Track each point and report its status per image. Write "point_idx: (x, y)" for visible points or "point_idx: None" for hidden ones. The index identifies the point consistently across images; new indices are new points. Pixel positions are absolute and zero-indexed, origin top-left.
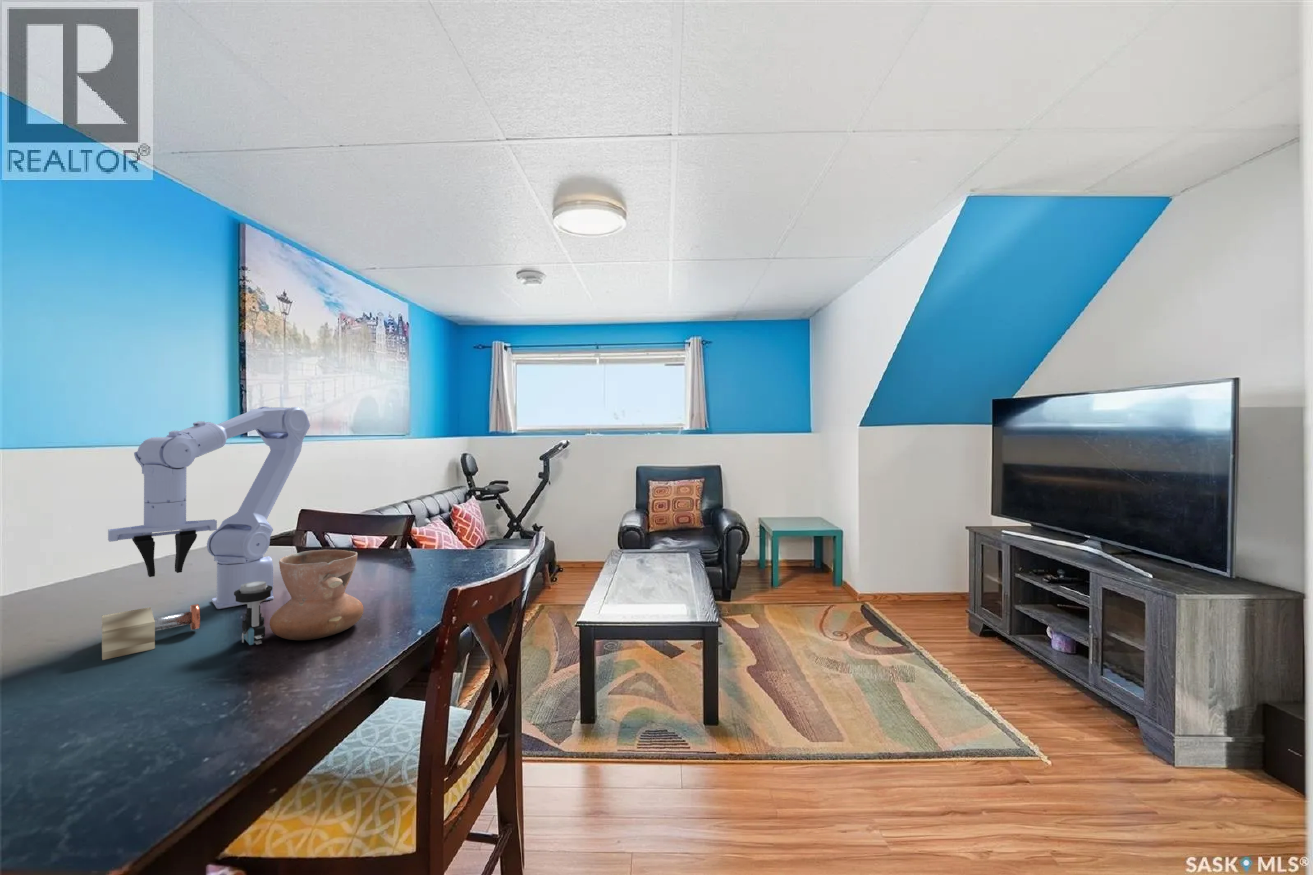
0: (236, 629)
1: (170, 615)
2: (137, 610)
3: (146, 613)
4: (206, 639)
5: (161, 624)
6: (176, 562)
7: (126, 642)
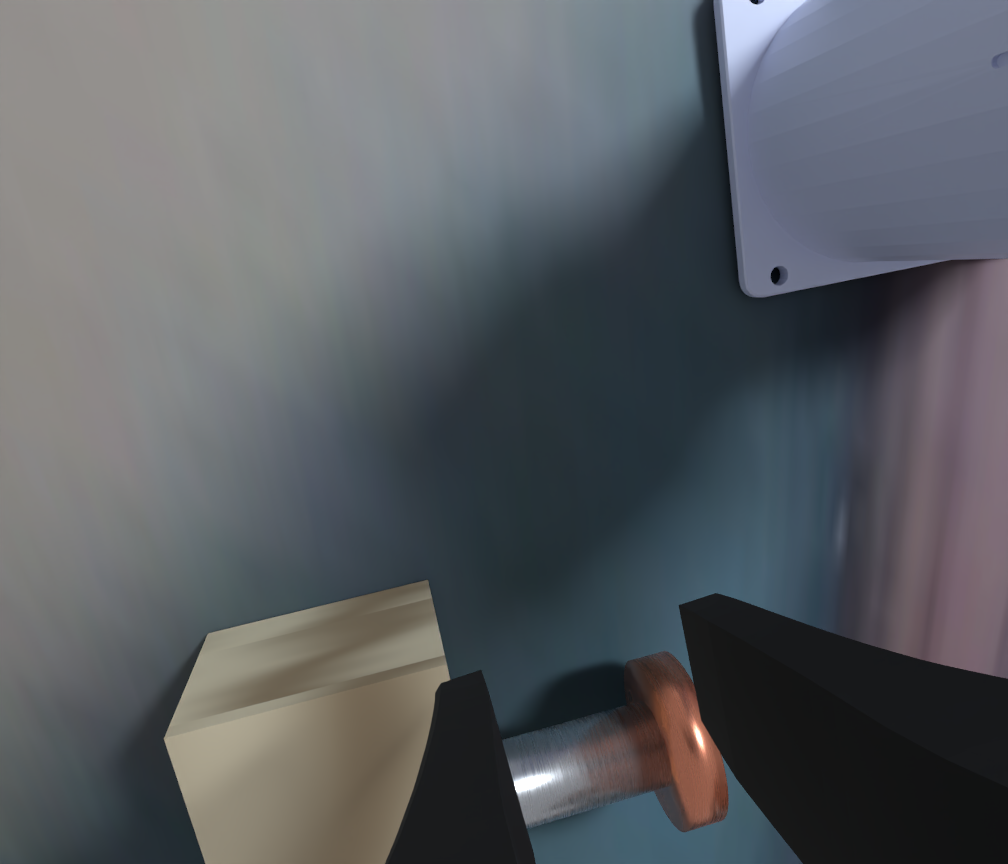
0: None
1: (569, 805)
2: (377, 715)
3: None
4: None
5: None
6: (756, 731)
7: None
